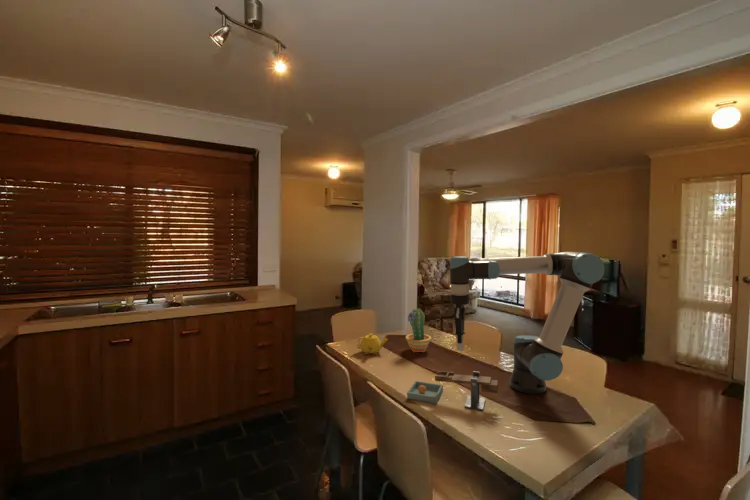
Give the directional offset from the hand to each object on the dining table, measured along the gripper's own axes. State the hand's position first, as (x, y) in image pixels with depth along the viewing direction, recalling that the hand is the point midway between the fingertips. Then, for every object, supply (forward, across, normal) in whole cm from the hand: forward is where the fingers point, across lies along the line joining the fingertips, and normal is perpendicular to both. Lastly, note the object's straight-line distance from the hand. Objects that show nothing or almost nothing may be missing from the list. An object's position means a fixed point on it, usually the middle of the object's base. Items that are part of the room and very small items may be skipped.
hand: (460, 349), depth 144 cm
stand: (+22, +1, +6) cm, 22 cm away
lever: (+15, +1, +3) cm, 15 cm away
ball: (+19, +1, -16) cm, 25 cm away
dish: (+21, +1, -15) cm, 26 cm away
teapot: (+21, -40, -57) cm, 73 cm away
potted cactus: (+22, -54, -33) cm, 67 cm away
